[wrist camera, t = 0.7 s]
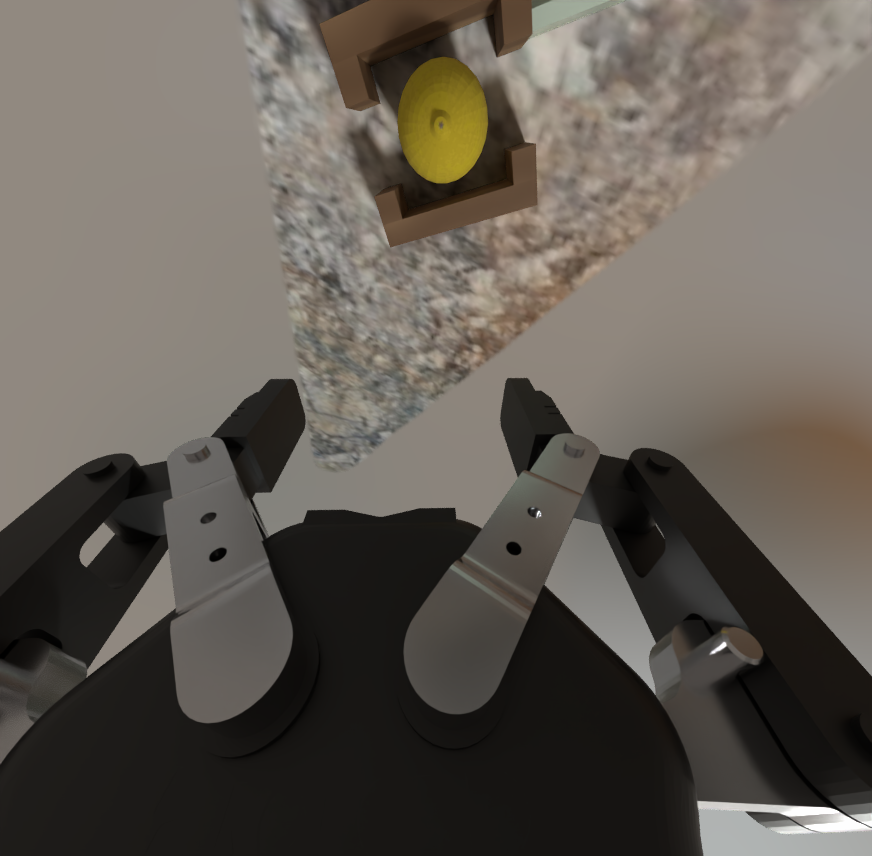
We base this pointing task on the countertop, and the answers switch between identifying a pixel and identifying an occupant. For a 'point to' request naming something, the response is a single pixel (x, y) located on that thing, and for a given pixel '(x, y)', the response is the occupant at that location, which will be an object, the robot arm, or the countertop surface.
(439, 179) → the lemon
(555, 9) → the dish
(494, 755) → the robot arm
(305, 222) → the countertop surface
